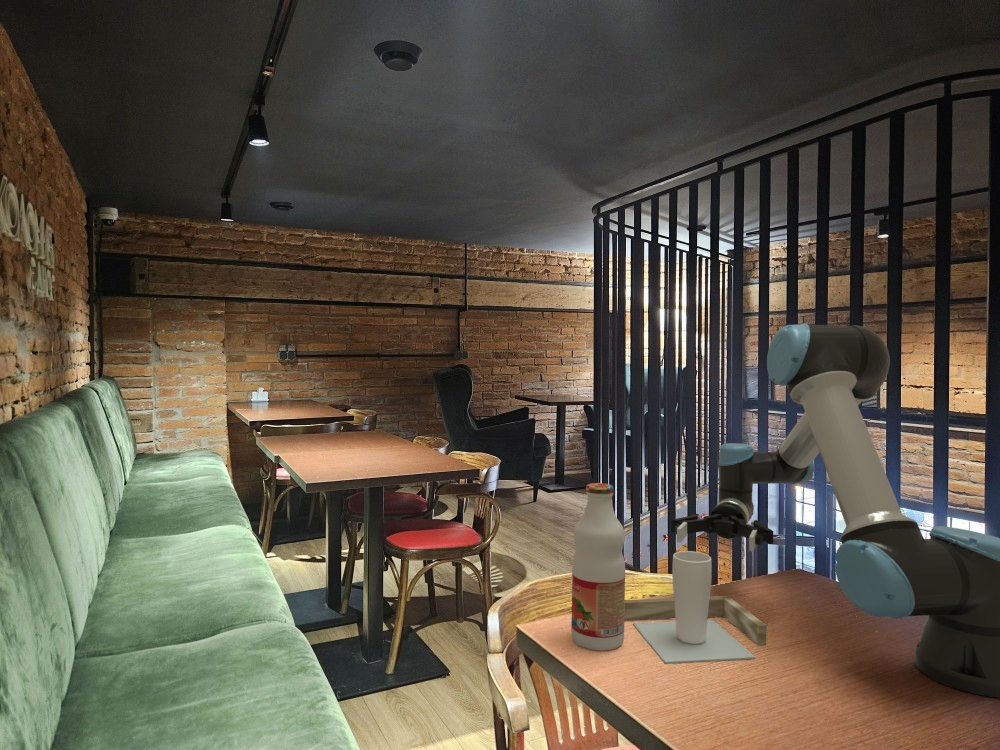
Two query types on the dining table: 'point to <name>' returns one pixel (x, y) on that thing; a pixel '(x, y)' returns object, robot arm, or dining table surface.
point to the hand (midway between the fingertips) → (714, 539)
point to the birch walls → (717, 608)
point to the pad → (677, 651)
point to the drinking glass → (691, 595)
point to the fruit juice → (598, 574)
